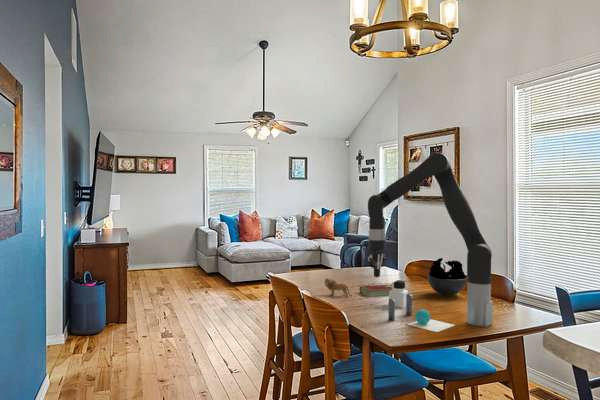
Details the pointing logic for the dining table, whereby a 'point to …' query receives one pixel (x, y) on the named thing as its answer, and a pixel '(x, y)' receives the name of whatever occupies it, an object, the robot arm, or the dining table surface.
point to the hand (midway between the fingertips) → (377, 276)
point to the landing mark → (432, 325)
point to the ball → (422, 316)
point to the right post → (409, 304)
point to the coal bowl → (447, 278)
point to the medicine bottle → (398, 293)
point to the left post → (391, 310)
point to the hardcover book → (376, 290)
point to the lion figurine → (336, 286)
